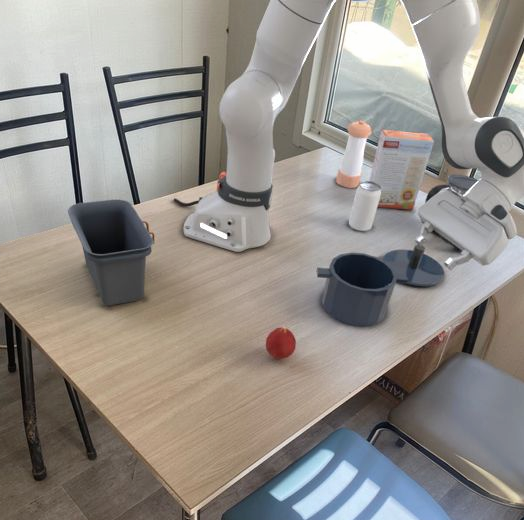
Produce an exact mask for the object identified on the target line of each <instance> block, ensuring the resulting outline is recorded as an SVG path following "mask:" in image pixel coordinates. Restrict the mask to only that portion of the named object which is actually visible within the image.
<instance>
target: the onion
mask: <svg viewBox="0 0 524 520" xmlns="http://www.w3.org/2000/svg"><path fill="white" fill-rule="evenodd" d="M296 344H297V340H296V337H295V336H294V333H293V332H292V331H291V330H290V329H288V328H287V327H285V326H282V327H276V328H275V329H273V330H272V331H270V332H269V334H268V335H267V337H266V339H265V349H266V351H267V353H268V354H269V355H270V356H271V357H273V358H275V359H276V360H283V359H286V358H289V357H290V356H292V355H293V353H294V352H295V350H296V347H297V345H296Z"/></svg>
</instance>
